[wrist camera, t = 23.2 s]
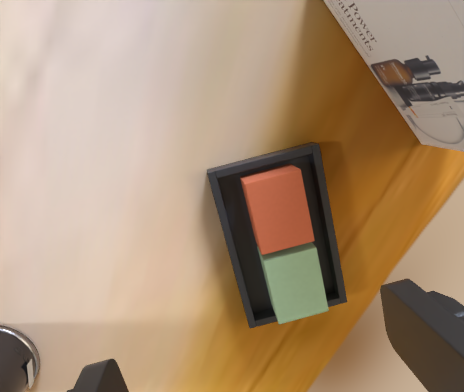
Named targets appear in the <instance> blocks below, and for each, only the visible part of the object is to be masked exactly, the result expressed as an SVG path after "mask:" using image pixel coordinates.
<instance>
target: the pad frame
mask: <svg viewBox="0 0 464 392" xmlns="http://www.w3.org/2000/svg"><path fill="white" fill-rule="evenodd" d="M286 164H291V165H293V166H295V167H297V168H299V169H300V170H301V173H302V178H303V184H304V189H305V194H306V199H307V204H308V209H309V214H310V219H311V224H312V229H313V234H314V240H315V241H313V242H312V243H313V244H314V246H315V247H316V248H317V254H318V259H319V264H320V269H321V274H322V279H323V284H324V289H325V294H326V299H327V304H328V307H330V306H334V305H338V304H340V303H341V304H342V303H345V302H347V298H346V292H345V287H344V281H343V276H342V270H341V264H340V259H339V253H338V248H337V242H336V236H335V231H334V225H333V220H332V214H331V208H330V203H329V197H328V192H327V186H326V180H325V175H324V169H323V164H322V158H321V152H320V147H319V144H317V143H313V142H310V143H306V144H303V145H299V146H295V147H291V148H287V149H284V150H280V151H276V152H272V153H268V154H264V155H261V156H257V157H253V158H249V159H245V160H242V161H238V162H234V163H230V164H226V165H223V166H219V167H215V168H211V169H208V170H207V174H208V178H209V182H210V185H211V189H212V192H213V196H214V200H215V203H216V207H217V211H218V214H219V218H220V222H221V225H222V229H223V233H224V236H225V240H226V244H227V247H228V251H229V255H230V258H231V262H232V265H233V269H234V273H235V276H236V280H237V284H238V287H239V291H240V295H241V298H242V302H243V306H244V309H245V313H246V317H247V320H248V324H249V328H254V327H256V326H261V325H265V324H268V323H272V322H276V321H277V318H276V315H275V312H274V310H273V307H272V304H271V300H270V296H269V292H268V288H267V284H266V280H265V276H264V272H263V268H262V264H261V260H260V256H259V252H258V248H257V246H258V245H257V243H256V240H255V236H254V232H253V228H252V224H251V220H250V216H249V212H248V208H247V204H246V200H245V196H244V192H243V188H242V184H241V180H240V176H244V175H248V174H251V173H255V172H259V171H263V170H267V169H270V168H274V167H278V166H282V165H286Z"/></svg>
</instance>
